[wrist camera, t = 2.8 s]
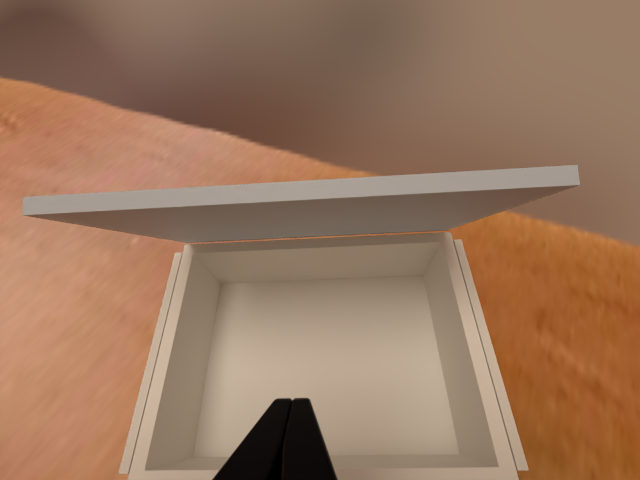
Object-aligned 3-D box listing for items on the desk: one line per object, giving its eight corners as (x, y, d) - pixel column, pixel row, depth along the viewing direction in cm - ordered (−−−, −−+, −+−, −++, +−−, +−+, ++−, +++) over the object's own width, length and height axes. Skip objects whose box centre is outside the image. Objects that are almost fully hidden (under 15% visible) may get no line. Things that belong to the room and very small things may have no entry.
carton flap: (580, 184, 7) (577, 164, 7) (22, 215, 8) (23, 197, 8) (446, 230, 16) (445, 221, 16) (187, 242, 17) (187, 234, 17)
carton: (482, 478, 15) (538, 503, 11) (173, 480, 16) (110, 505, 12) (435, 269, 21) (459, 231, 17) (210, 279, 22) (177, 245, 17)
